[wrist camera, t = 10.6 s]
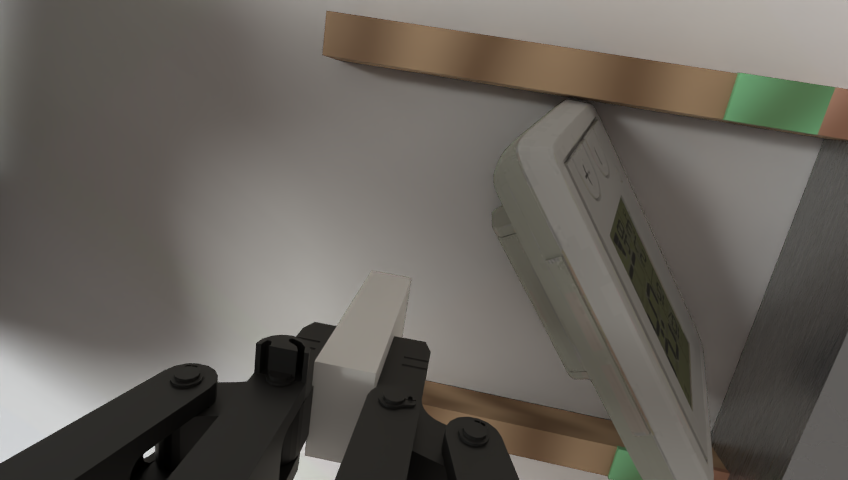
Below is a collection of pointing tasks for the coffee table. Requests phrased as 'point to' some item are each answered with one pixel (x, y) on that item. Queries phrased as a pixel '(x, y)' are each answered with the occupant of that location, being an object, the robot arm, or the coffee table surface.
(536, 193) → the digital clock
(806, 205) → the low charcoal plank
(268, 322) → the coffee table surface
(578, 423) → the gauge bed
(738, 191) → the coffee table surface
